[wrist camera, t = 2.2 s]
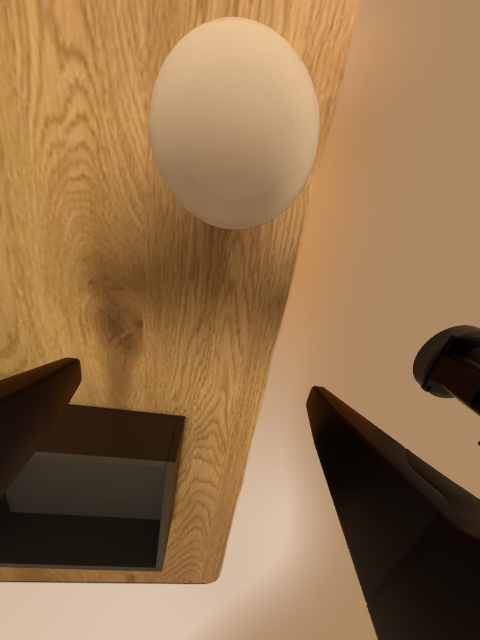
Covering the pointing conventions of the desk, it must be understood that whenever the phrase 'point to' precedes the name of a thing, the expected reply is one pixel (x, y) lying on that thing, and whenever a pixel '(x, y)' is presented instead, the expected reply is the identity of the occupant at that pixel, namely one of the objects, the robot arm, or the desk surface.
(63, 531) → the dark grey tray
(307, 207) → the desk surface
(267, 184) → the sprinkles bottle
